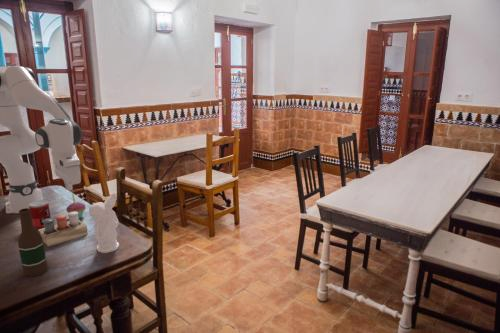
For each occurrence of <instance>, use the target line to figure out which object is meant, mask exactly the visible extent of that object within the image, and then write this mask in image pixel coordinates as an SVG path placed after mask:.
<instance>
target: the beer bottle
mask: <svg viewBox="0 0 500 333" xmlns="http://www.w3.org/2000/svg"><path fill="white" fill-rule="evenodd" d="M30 213H31V210H30V209H28V208H25V209H21V210H19V213H18V215H19V219H20V225H21V233H20V235H19V236H18V242H17V245H18V251H19V256H20V262H21V266H22V267H21V268H22V271H23V274H24V276H25V277H30V278H34V277H38V276H41V275H43V274H44V273H45V272H46V273H47V271H48V262H47V257H46V251H45V243H44V242H43V239H42V236H41V234H40V233H39V231H38V230H37V228H35V227H34V225H33V221H32V217H31V214H30Z"/></svg>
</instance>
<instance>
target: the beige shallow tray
mask: <svg viewBox="0 0 500 333" xmlns="http://www.w3.org/2000/svg"><path fill="white" fill-rule="evenodd" d="M66 222H67V229H64V230H61V231H59V230H58V226H57V223H56V224H54V228H55V232H54V233H51V234H46V233H45V228H38V230H37V231H38V232H39V233H40V234H41V236H42V239H43V244H44V245H46V246H47V248H49V247H52V246H55V245H59V244H61V243H64V242H68V241H70V240H74V239H77V238H80V237H83V236H87V235H88V234H89V232H88V227H87V225H86V224H85V223H84V222H82V221H81V220H80V219H79V225H77V226H74V227H71V226H70V221H69V220H66Z"/></svg>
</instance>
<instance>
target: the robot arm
mask: <svg viewBox="0 0 500 333" xmlns="http://www.w3.org/2000/svg"><path fill="white" fill-rule="evenodd" d="M36 80H37V79H36V75H35V73H34V71H33V70H32V69H31V68H30V67H27V66H21V65H11V66H10V65H9V66H8V65H5V66H0V127H5V128H7V129H8V131H9V132H10V134H6V135H1V136H0V164H1V165H2V166H3V167H4V169H5V171H6V175H7V178H8V183H9V184H8V189H9V190H8V191H9V193H8V196H7V197H4V199H5V213H6V214H19V210H21V209H25V208H28V209H29V204H30V203H32V202H34V201H39V200H44V197H43V193H42V190H41V189H40V188H38V184H37V180H36V179H35V173H34V168H33V166H32V165H31V164H30V163H28V162H25V161H23V160H21V156H24V155H29V154H33V153H34V152H36V151H39V150H41V148H42V149H44V150H45V149H46V150H50V149H51V157H52V164H53V165H54V166H53V167H54V174H55V176H57V177H58V178H60V179H62V181H63V183H64V186H65V190H68V191H73V185H77V184H81V181H82V174H81V168H80V165H81V160H80V159H79V157H78V156H77V153H76V148H75V147H74V146H78V145H79V144H80V143H81V141H82V140H83V136H84V134H83V130H82V128H81V126H80V125H78V124H77V122H75V121H74V119H72V117H71V116H70V115H69V114H68V112H66V110H65V109H64V107H63V106H62V105H61V104H60V102H58V100H57V99H56V98H55V97H54V96H52V95H50V94H48V93H47V92H45V91H44V90H43V89H42V88H41V87H40V86H39V85H38V83H37V82H36ZM22 107H23V108H26V109H30V110H38V111H42V112H46V113H48V114H50V115H52V117H53V119H49V121H48V122H47V124H46V125H44V126H41V127H39V128H37V130H36V131H34V130H32V129H31V128H30V127H29V126H28V125H27V123H26V121H25V118H24V115H23V110H22Z"/></svg>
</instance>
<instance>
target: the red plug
mask: <svg viewBox="0 0 500 333" xmlns="http://www.w3.org/2000/svg"><path fill="white" fill-rule="evenodd" d="M54 220H56V224H57V226H58V230H59V231H61V230H64V229H67V215H66V214H59V215H56V216H55V219H54Z"/></svg>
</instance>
